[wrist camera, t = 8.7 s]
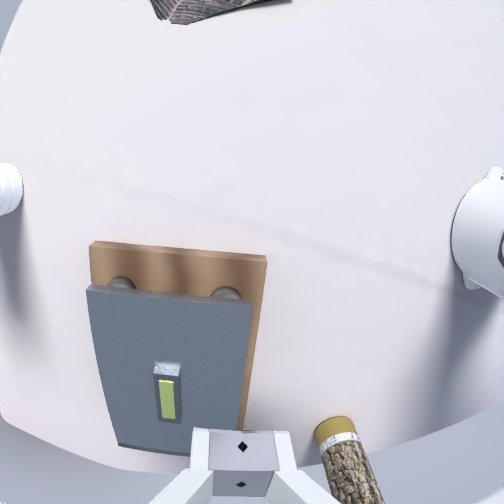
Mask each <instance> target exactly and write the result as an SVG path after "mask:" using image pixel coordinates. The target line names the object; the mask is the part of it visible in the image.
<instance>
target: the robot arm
mask: <svg viewBox="0 0 504 504" xmlns="http://www.w3.org/2000/svg"><path fill="white" fill-rule="evenodd" d="M500 178H501V179H500ZM452 251H453V255H454V259H455V261H456V263H457V265H458V266H459V268H460V269H461V271H462V273H463V280H464V285H465V287H466V288H468V289H470V290H474V289H478V288H482V287H483V288H485V289H487V290H488V291H490V292H492V293H493V294H495V295H497V296H498V297H500V298H504V171H503V170H502V169H501V168H499V167H496V166H493V167H492V168H491V169H490V171H489V172H488V174H487V175H486V177H485V178H484V179H483V180H482V181H480V182H479V183H477V184H475V185H474V186H473V187H472V188H471V189H470V190H469V191H468V192H467V193H466V195H465V196H464V198H463V199H462V201H461V203H460V205H459V207H458V210H457V212H456V215H455V219H454V223H453V228H452ZM209 435H210V438H209ZM212 496H248V497H265V498H266V500H267V501H268V502H269V503H270V504H341V503H340V502H339V501H337V500H336V499H335V498H334V497H332V496H331V495H330V494H329V493H328V492H327V491H325V490H324V489H323V488H322V487H321V486H319V485H318V484H317V483H316V482H315V481H314V480H312V478H310V477H309V476H308V475H307V474H306V473H305V472H304V471H303V470H297V466H296V461H295V457H294V452H293V447H292V442H291V438H290V433H289V432H288V431H271V430H270V431H243V430H241V431H232V430H219V429H208V428H196V427H194V428H193V433H192V444H191V456H190V468H184V469H183V470H182V471H181V472H180V473H179V474H178V475H177V477H175V478H174V479H173V480H172V481H171V482H170V484H168V485H167V486H166V487H165V488H164V489H163V490H162V491H161V492H160V493H159V494H158V495H157V496H156V497H155V498H154V499H153V500H152V501H151V502H150V503H148V504H207V503H208V502H209V501H210V499H211V498H212ZM0 504H6V503H4V502H2V501H1V500H0ZM470 504H504V485H502V486H501V487H499V488H498V489H496V490H494V491H492V492H491V493H489V494H487V495H485V496H483V497H482V498H480V499H478V500H476V501H474V502H472V503H470Z"/></svg>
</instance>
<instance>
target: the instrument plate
mask: <svg viewBox="0 0 504 504" xmlns="http://www.w3.org/2000/svg"><path fill="white" fill-rule="evenodd" d="M86 295H87V303H88V311H89V318H90V325H91V331H92V337H93V343H94V349H95V354H96V359H97V364H98V369H99V374H100V378H101V383H102V387H103V391H104V395H105V399H106V403H107V407H108V411H109V414H110V418H111V422H112V425H113V428H114V432H115V435H116V438H117V442H118V446H121V447H126V448H131V449H137V450H142V451H148V452H155V453H162V454H169V455H178V456H187V457H190V456H191V444H192V433H193V428H194V427H196V428H208V429H219V430H232V431H236V429H237V422H238V415H239V408H240V400H241V393H242V386H243V378H244V371H245V364H246V356H247V349H248V341H249V334H250V326H251V318H252V311H253V303H252V300H247V299H234V298H221V297H209V296H198V295H187V294H177V293H167V292H157V291H148V290H139V289H130V288H121V287H113V286H105V285H97V284H91V285H90V286H89V287H88V288H87V289H86ZM209 438H210V435H209Z"/></svg>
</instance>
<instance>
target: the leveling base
mask: <svg viewBox="0 0 504 504" xmlns="http://www.w3.org/2000/svg"><path fill="white" fill-rule="evenodd" d="M89 257H90V271H91V282H92V284H97V285H105V286H113V287H121V288H130V289H139V290H148V291H157V292H167V293H177V294H187V295H198V296H209V297H221V298H234V299H247V300H252V303H253V311H252V318H251V326H250V334H249V341H248V349H247V356H246V364H245V371H244V378H243V386H242V393H241V400H240V408H239V415H238V422H237V429H236V431H241V430H242V428H243V422H244V416H245V409H246V403H247V396H248V390H249V383H250V377H251V370H252V364H253V357H254V350H255V344H256V337H257V330H258V323H259V316H260V309H261V302H262V295H263V288H264V281H265V274H266V267H267V260H266V256H264V255H252V254H240V253H229V252H217V251H206V250H194V249H183V248H171V247H160V246H148V245H137V244H126V243H114V242H103V241H95V242H93V243H92V244H91V245H90V246H89Z"/></svg>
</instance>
